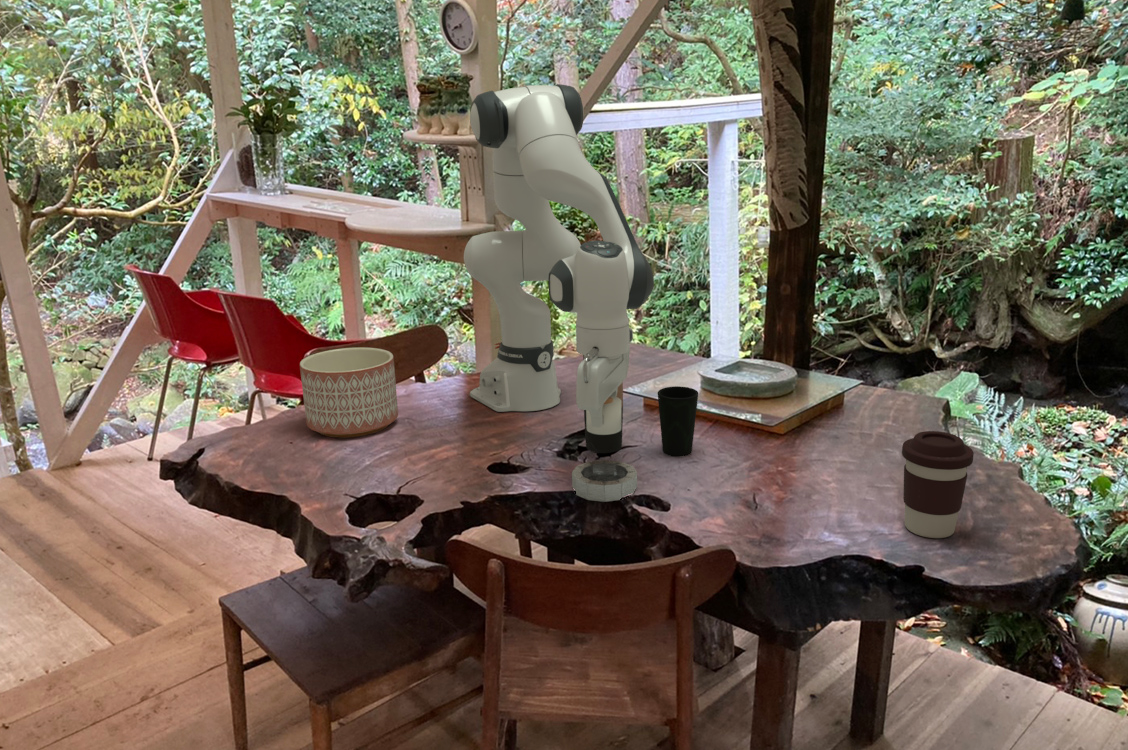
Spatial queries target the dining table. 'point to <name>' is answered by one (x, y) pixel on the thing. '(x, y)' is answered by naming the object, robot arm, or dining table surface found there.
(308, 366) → the planter
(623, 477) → the stone fire pit ring
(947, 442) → the coffee cup
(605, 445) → the travel mug
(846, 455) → the dining table surface
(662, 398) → the cup
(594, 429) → the jar
